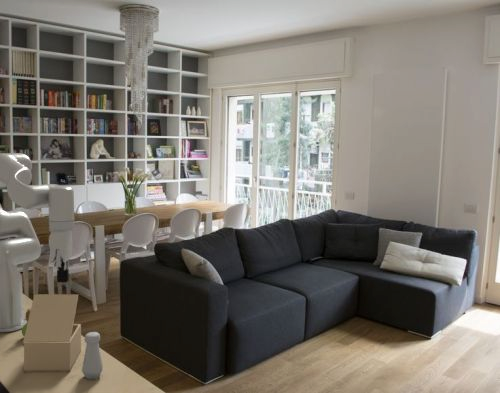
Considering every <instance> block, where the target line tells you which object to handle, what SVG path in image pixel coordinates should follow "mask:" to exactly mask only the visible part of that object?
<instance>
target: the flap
mask: <svg viewBox="0 0 500 393" xmlns="http://www.w3.org/2000/svg"><path fill="white" fill-rule="evenodd" d="M78 301H79V294H74V293H73V294H67V293H66V294H65V293H64V294H61V293H60V294H58V293H57V294H55V293H54V294H51V293H49V294H47V293H46V294H39V293H38V294H34V295H33V300H32V302H31V303H32V304H31V311H30V316H29V320H28V324H27V328H26V332H25V336H23V337H24V338H23V341H22V342H23V343H24V342H70V339H71V334H72V328H73V324H75V323H74V322H75V316H76V312H77V311H76V310H77V304H78Z"/></svg>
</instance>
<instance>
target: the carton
mask: <svg viewBox="0 0 500 393" xmlns="http://www.w3.org/2000/svg"><path fill="white" fill-rule="evenodd" d="M81 352H82V324H81V323H73V328H72V334H71V339H70V342H23V364H24V365H23V367H24V368H23V371H24V373H61V372H62V373H63V372H64V373H65V372H67V373H68V372H69V373H70V372H71V371H72V369H73V367H74V365H75V363H76V362H77V359H78V357H79V356H80V354H81Z"/></svg>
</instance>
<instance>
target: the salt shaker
mask: <svg viewBox="0 0 500 393" xmlns="http://www.w3.org/2000/svg"><path fill="white" fill-rule="evenodd" d="M100 341H101V335H100V333H99V332H98V331H90V332H88V333H86V334H85V335H84V342H85V343H86V346H85V350H84V351H85V352H84V358H83V362H82V366H81V367H82V368H81V372H82V374H83V376H85V377H84V378H85V379H86V380H91V381H92V380H96V379H99V377H100V375H101V373H102V371H103V368H104V367H103V366H104V365H103V361H102V355H101V351H100V350H101V349H100V343H99V342H100Z"/></svg>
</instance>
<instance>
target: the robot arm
mask: <svg viewBox="0 0 500 393" xmlns="http://www.w3.org/2000/svg"><path fill="white" fill-rule="evenodd" d="M32 170H33V162H32V161H31V158H30V156H28V155H27V154H25V153H21V152H18V153H17V152H12V153H11V152H7V153H5V152H3V153H0V188H6V192H7V195H8V197H9V199H10V200H11V201H12V203H14V204H16V205H17V206H19V207H20V208H23V210H36V209H37V210H38V209H44V208H45V209H48V230H49V232H50V236H49V237H50V239H49V262H50V263H54V262H56V263H55V267H56V282H57V283H68V282H69V281H70V280H69V278H70V277H69V275H70V274H69V272H70V271H69V267H70V266H69V264H70V263H69V261H70V260H69V259H71V257H72V256H73V233H72V231H74V230H75V194H74V189H73V188H72V187H70V186H65V185H63V186H62V185H59V184H54V183H49V184H48V183H45V184H34V185H31V182H32V179H33V173H32ZM33 226H34V225H33V224H32V221H31V219H30V218H29V216H28V215H27V213H25V212H23V211H21V210H9V211H6V210H4V208H3V207H2V205H1V203H0V333H10V332H15V331H18V330H22V328H23V326H24V325H25V324H26V323H27V321H26V318H25V317H24V307H23V306H24V305H23V299H24V298H23V277H22V276H23V275H22V274H21V272H20V270H18V268H17V267H16V266H17V265H22V264H25V263H31V262H34V261H36V260H37V259H39V257H40V256H41V255H42V254H41V253H42V248H41V247H42V246H41V243H40V240H39V237H38V236H37V234H36V231H35V228H34V227H33Z"/></svg>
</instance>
